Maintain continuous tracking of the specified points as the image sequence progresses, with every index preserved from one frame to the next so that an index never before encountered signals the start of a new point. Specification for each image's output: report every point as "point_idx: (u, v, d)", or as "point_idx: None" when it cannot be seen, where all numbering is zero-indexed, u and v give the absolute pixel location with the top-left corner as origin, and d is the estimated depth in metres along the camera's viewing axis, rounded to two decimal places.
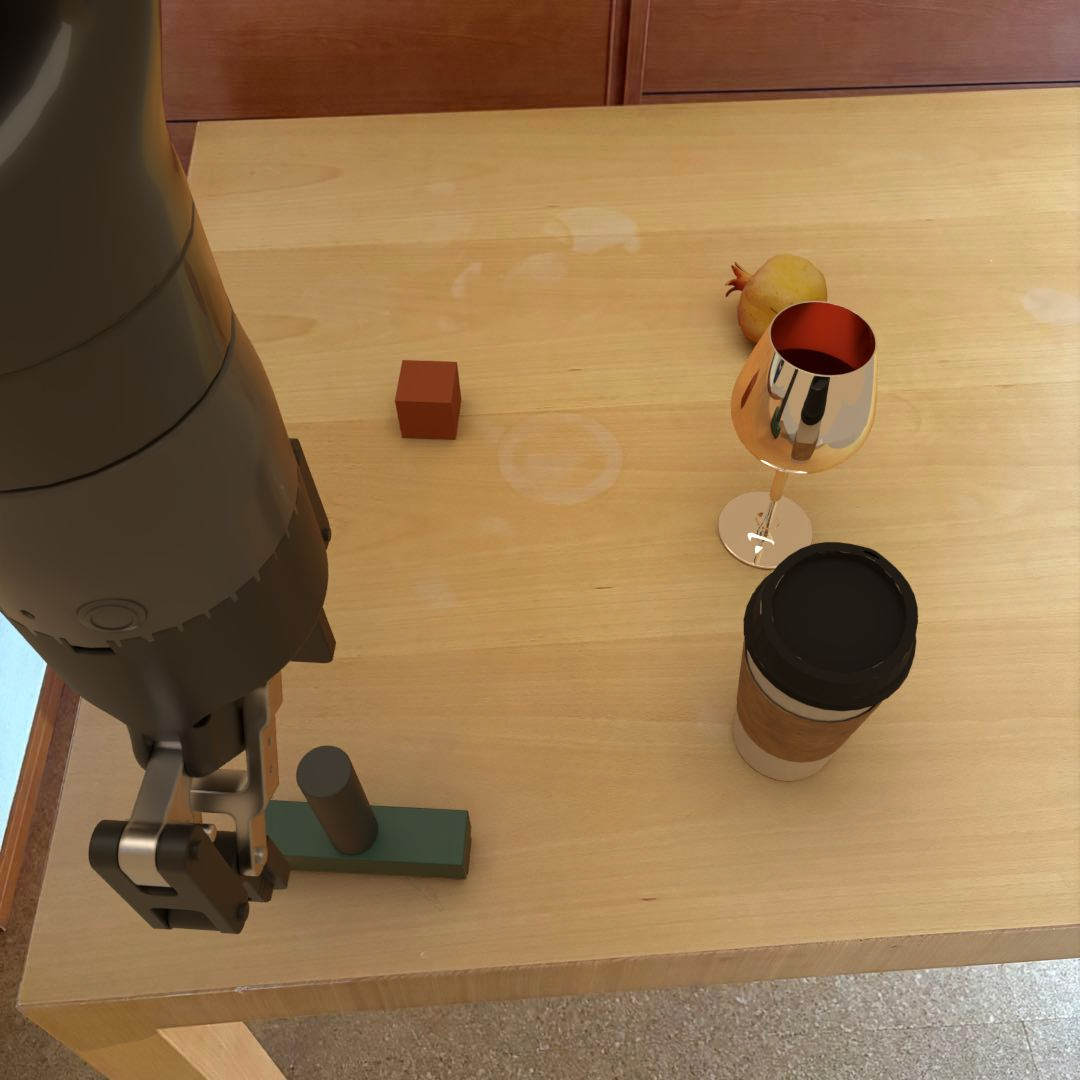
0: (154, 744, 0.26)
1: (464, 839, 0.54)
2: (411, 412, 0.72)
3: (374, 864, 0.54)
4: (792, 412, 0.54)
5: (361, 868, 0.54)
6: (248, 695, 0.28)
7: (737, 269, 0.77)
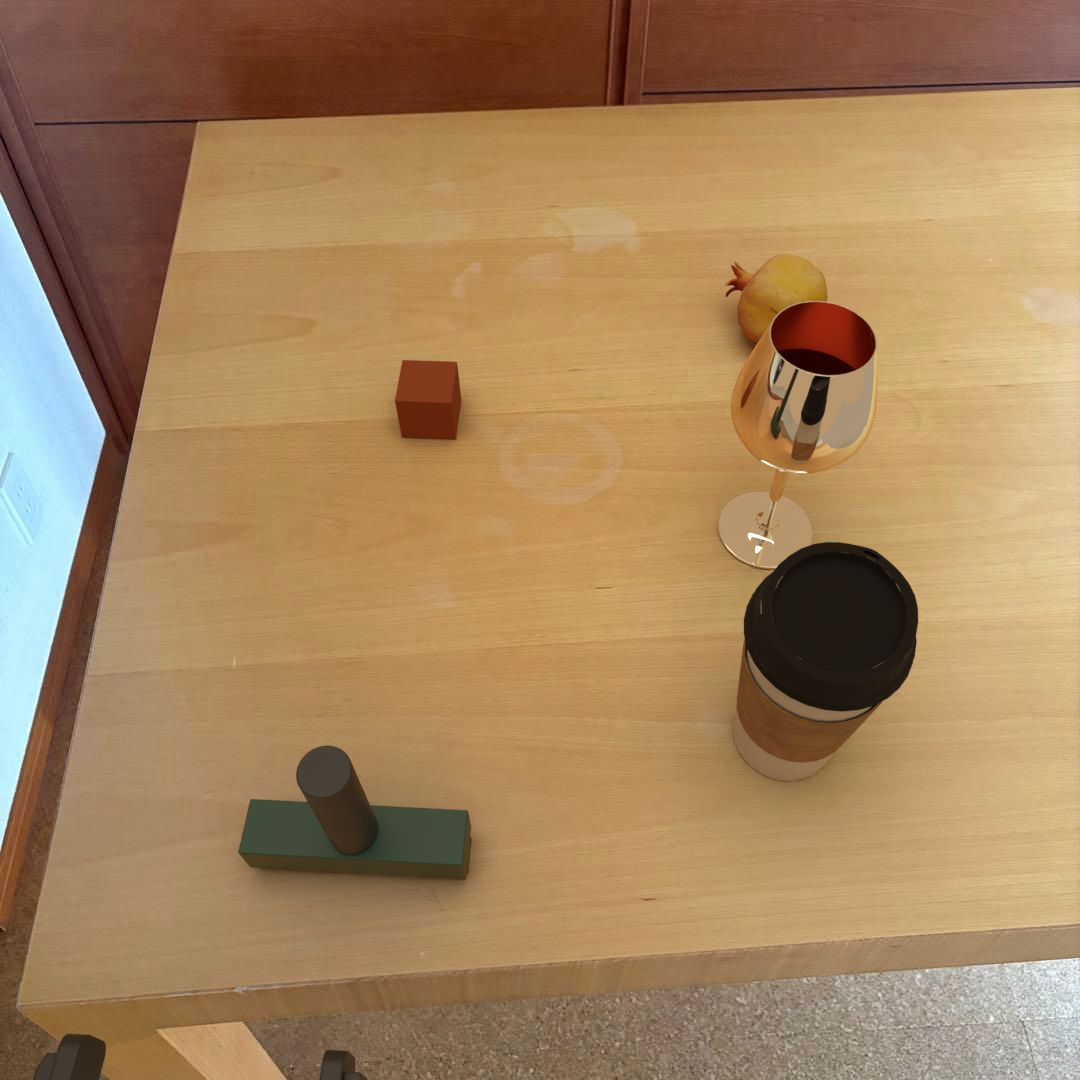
0: None
1: (464, 839, 0.54)
2: (411, 412, 0.72)
3: (374, 864, 0.54)
4: (792, 412, 0.54)
5: (361, 868, 0.54)
6: None
7: (737, 269, 0.77)
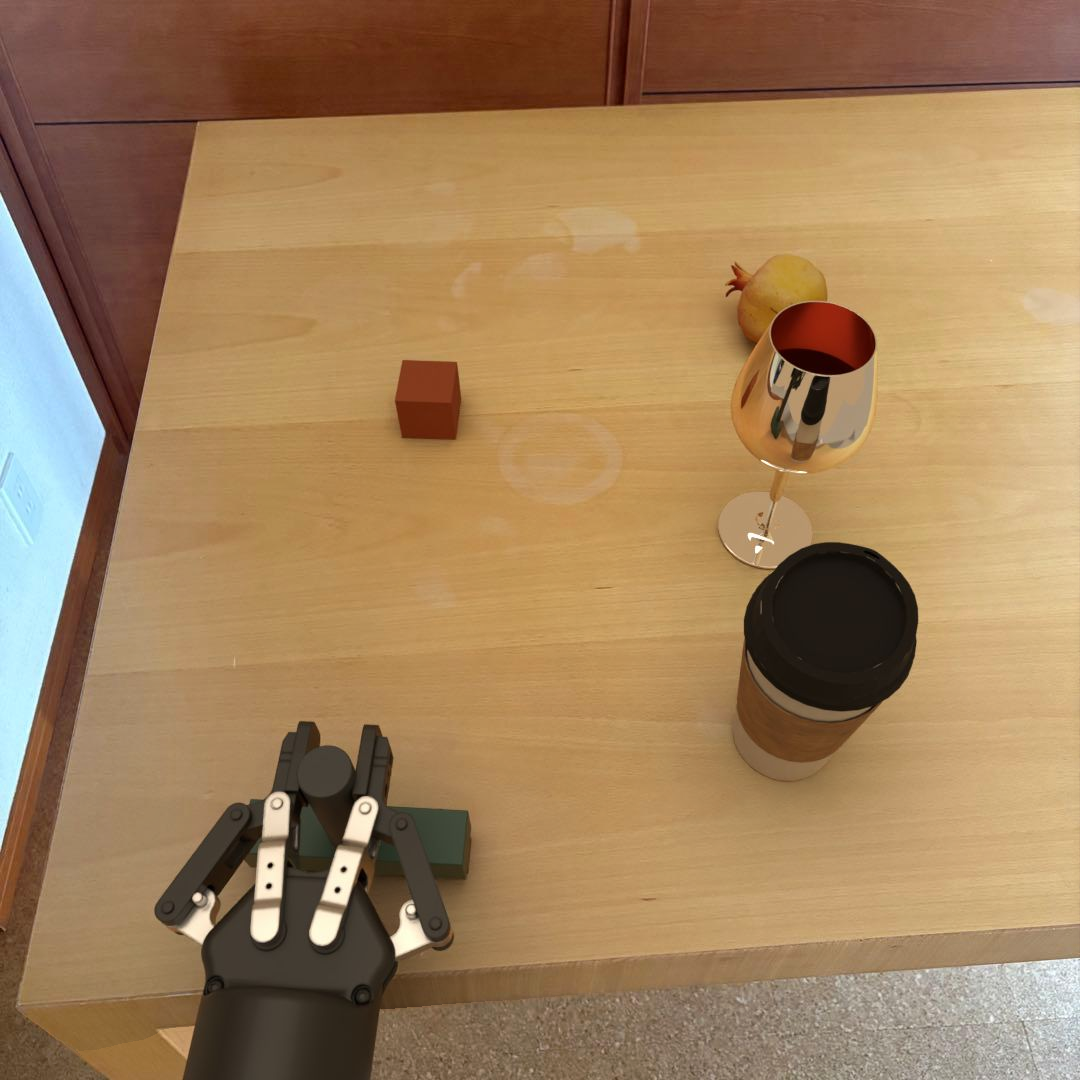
0: None
1: (464, 839, 0.54)
2: (411, 412, 0.72)
3: None
4: (792, 412, 0.54)
5: None
6: None
7: (737, 269, 0.77)
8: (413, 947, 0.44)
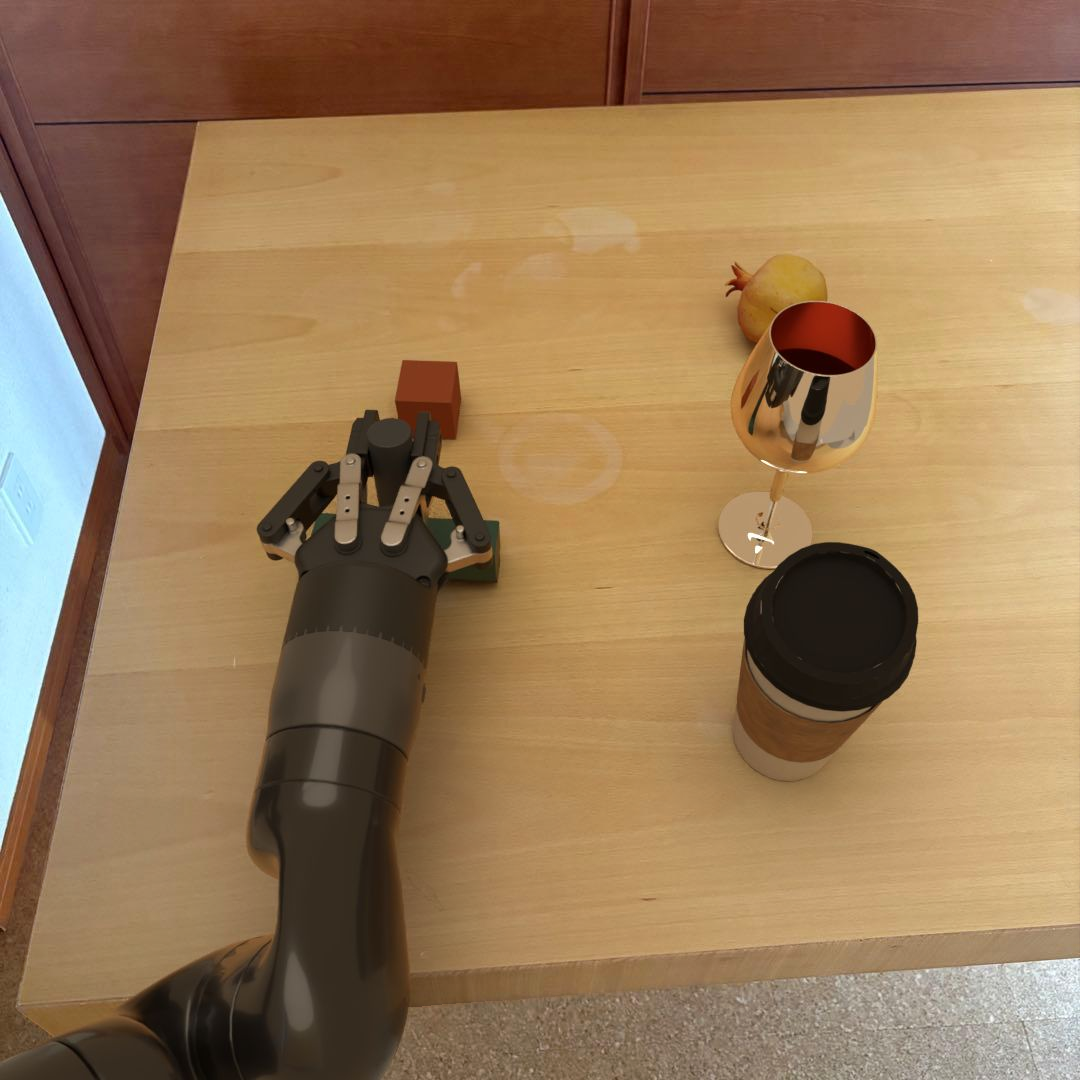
0: None
1: (496, 538, 0.65)
2: (411, 412, 0.72)
3: None
4: (792, 412, 0.54)
5: None
6: None
7: (737, 269, 0.77)
8: (462, 557, 0.55)
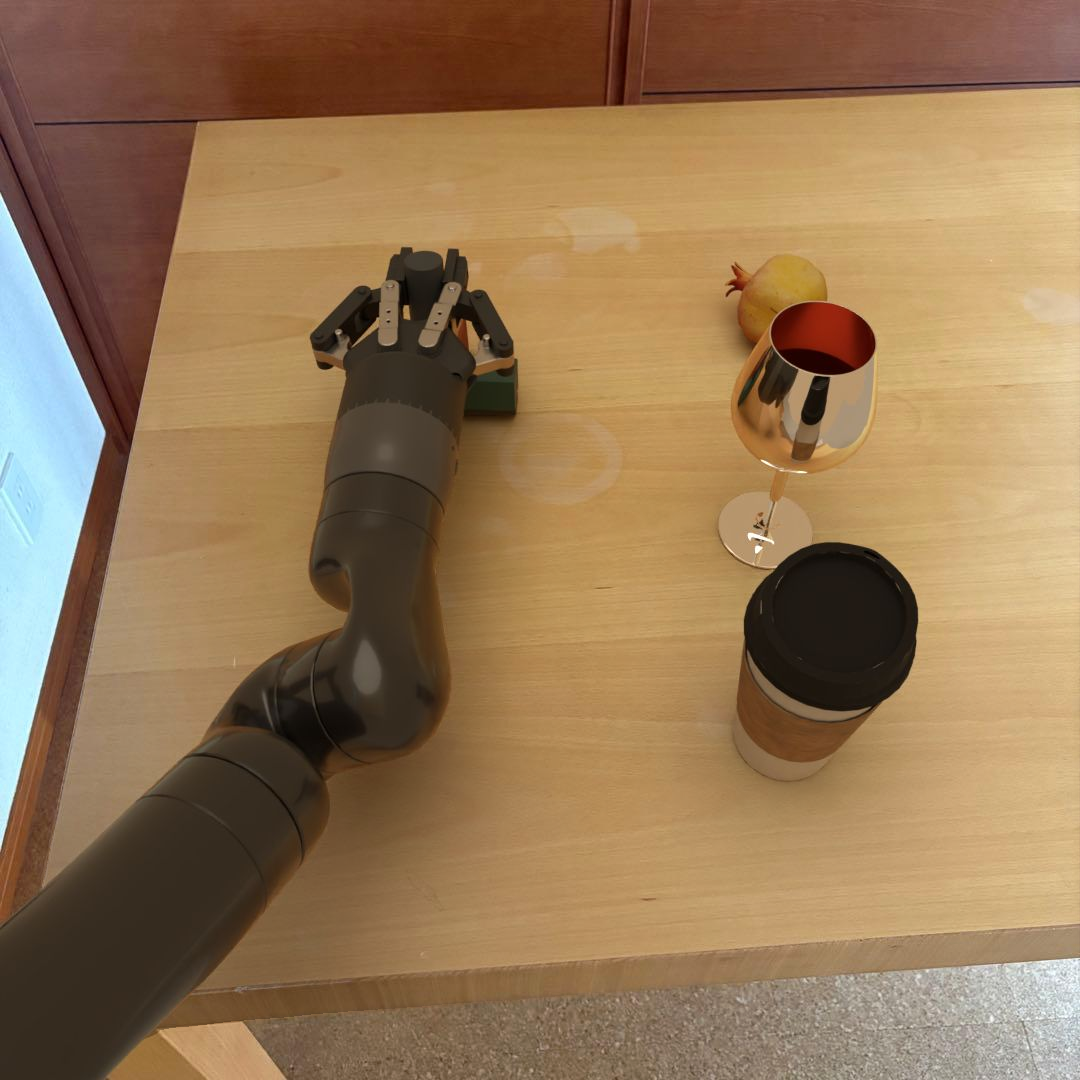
0: None
1: (515, 371, 0.73)
2: None
3: None
4: (792, 412, 0.54)
5: None
6: None
7: (737, 269, 0.77)
8: (488, 361, 0.64)
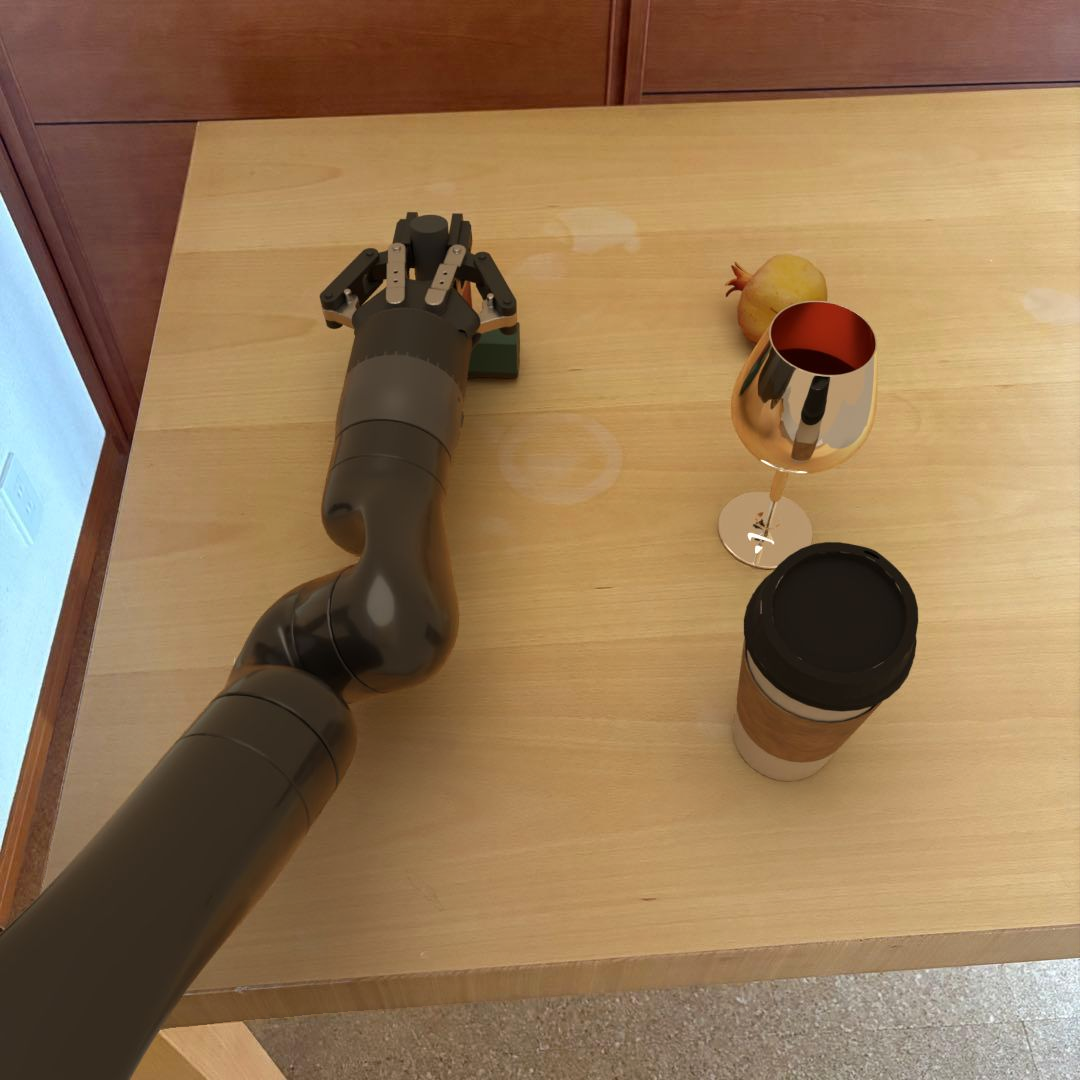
0: None
1: (517, 334, 0.75)
2: None
3: None
4: (792, 412, 0.54)
5: None
6: None
7: (737, 269, 0.77)
8: (492, 319, 0.66)
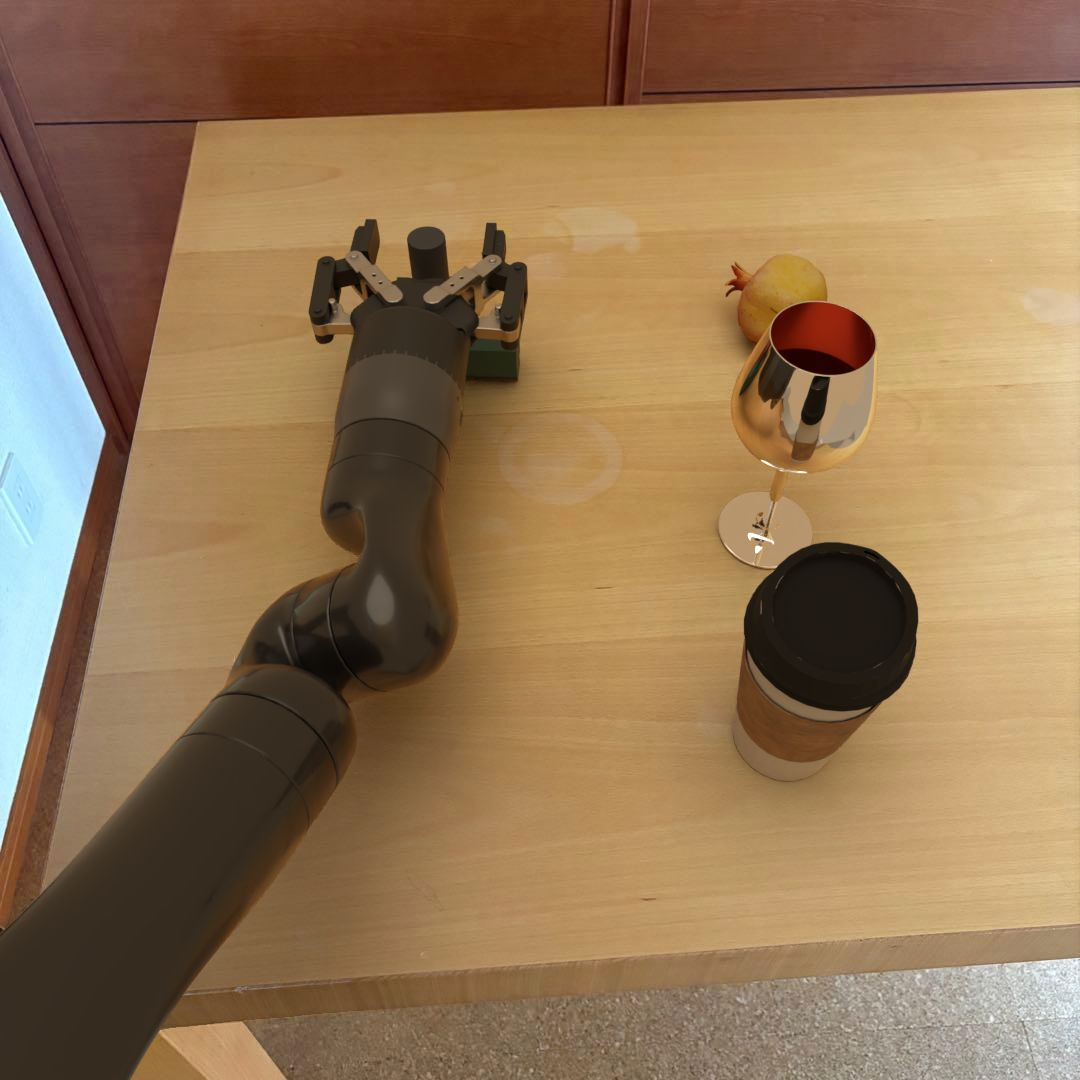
0: None
1: None
2: None
3: None
4: (792, 412, 0.54)
5: None
6: None
7: (737, 269, 0.77)
8: (489, 328, 0.66)
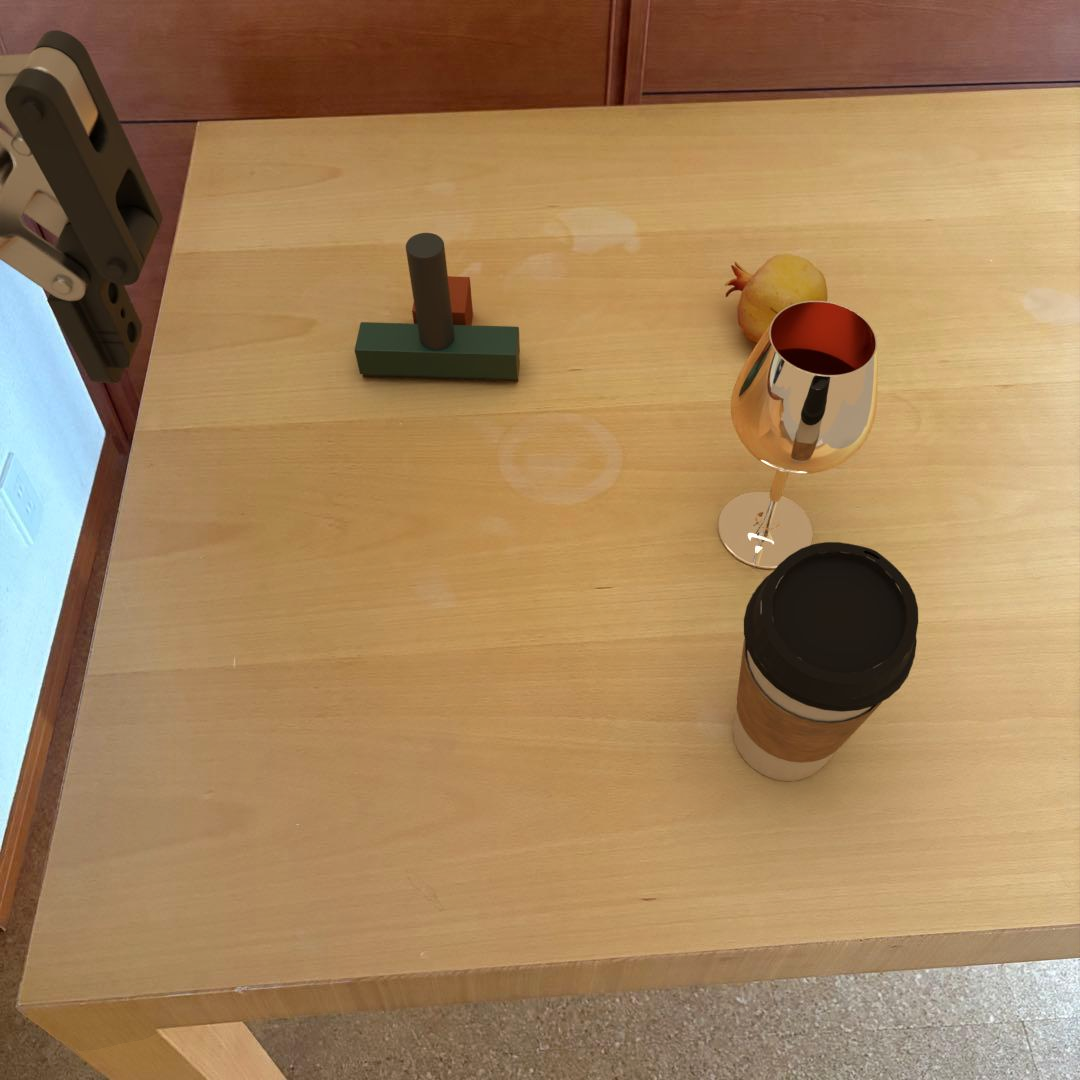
0: None
1: (516, 341, 0.75)
2: None
3: (452, 359, 0.75)
4: (792, 412, 0.54)
5: (442, 367, 0.75)
6: None
7: (737, 269, 0.77)
8: None
